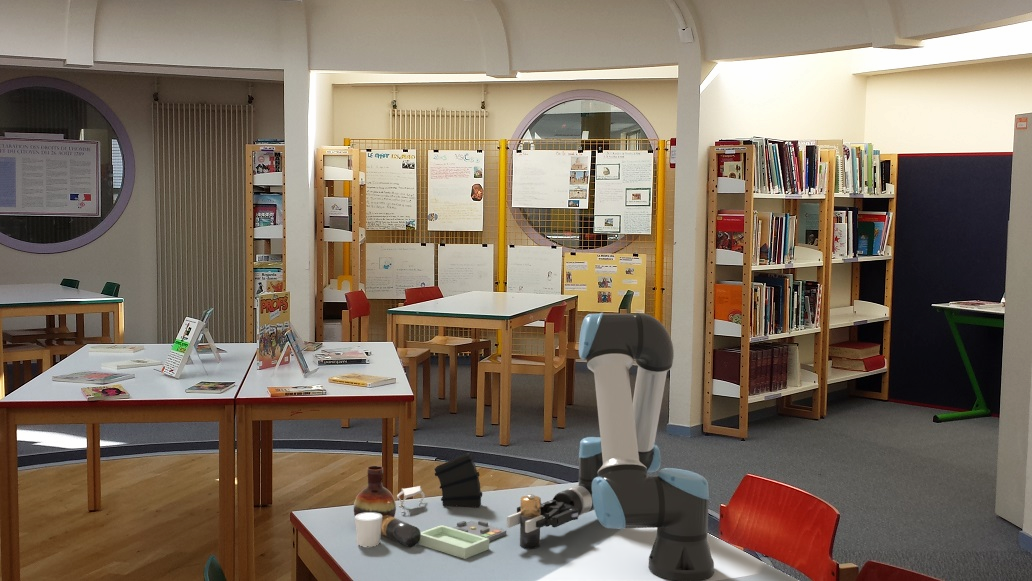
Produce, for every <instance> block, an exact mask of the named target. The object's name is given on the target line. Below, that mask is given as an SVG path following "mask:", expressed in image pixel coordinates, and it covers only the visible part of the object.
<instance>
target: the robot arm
mask: <svg viewBox="0 0 1032 581" xmlns="http://www.w3.org/2000/svg"><path fill="white" fill-rule="evenodd" d="M579 333H580V334H579V341H578V355H579V359H581V360H583V361H585V360H586V365H587V366H586V368H587V369H588V370H590V371H591V372H592V373H593V375H594V377H593V378H594V384H595V385H594V386H595V396H596V406H597V416H598V417H597V418H598V425H599V428H598V429H599V435H600V437H598V436H597V437H596V436H587V437H584V438H582V439H581V440H580V441H579V449H578V450H579V453H578V485H575V486H573V487H570V488H567V489H565V490H562V491H560V492H558V493H556V494H555V495H554V496H553V498H552V499H551V500H547V501H546V502H541V512H540V516H538V517H535V518H533V519H530V520H528V521H525V532H526V533H529V532H531V531H533V530H536V529H538V528H540V529H541V528H544V527H549V526H551V528H553V529H554V528H557V527H560V526H563V525H565V524H566V523H568V522H572V521H577V520H578V519H579V517H580V516H582V515H584V514H587V513H589V512H592V511H594V513H595V516H596V518H597V521H598V522H599V523H600V525H601V526H602V527H604V528H605V529H619V530H625V529H647V528H648V529H649V528H651V529H653V528H654V529H655V528H656V537H655V539H654V543H653V544H652V545H653V546H652V548H651V551H650V553H649V556H648V570H649V571H650V572H651V573H652V574H653V575H655V576H657V577H660V578H663V579H667V580H670V581H704V580H707V579H709V578H711V577H712V576H714V573H715V572H714V571H715V562H714V559H713V558H712V553H711V548H710V545H709V540H708V526H709V525H708V524H709V500H710V493H709V490H710V489H709V482H708V480H707V479H706V478H705V477H704V476H703V475H701V474H699V473H697V472H694V471H691V470H686V469H680V468H672V467H665V468H661V469H660V467H661V462H662V461H661V460H662V459H661V451H660V448H659V446H658V445H657V444H655V443H656V436H657V431H658V425H659V420H660V414H661V408H662V402H663V398H664V391H665V384H666V380H667V373H668V371H670V370H671V369H672V367H673V363H674V356H675V355H674V354H675V353H674V346H673V340H672V337H671V335H670V333H669V332H668V330H667V328H666V327H665V325H663V323H662V322H661V321H660V320H659V319H657V318H656V317H654V316H652V315H650V314H646V313H643V312H642V313H640V312H638V313H637V312H636V313H618V312H617V313H614V312H613V313H611V312H610V313H608V312H607V313H605V312H600V313H588V314H587V315H586V316H584V318H583V320H582V324H581V328H580V331H579ZM634 363H635V364H636V366H637V370H636V372H637V373H636V378H635V386H634V392H633V397H632V390H631V389H632V388H631V379H630V372H629V370H630V368H631V367H632V366H633V365H634ZM657 471H658V472H657ZM655 472H657V476H648V473H655ZM520 513H521V505H520V506H518V507H516V512H515V513H513V514H510V515H507V517H506V528H509V529H510V528H512V527H515V526H518V525H520Z"/></svg>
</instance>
